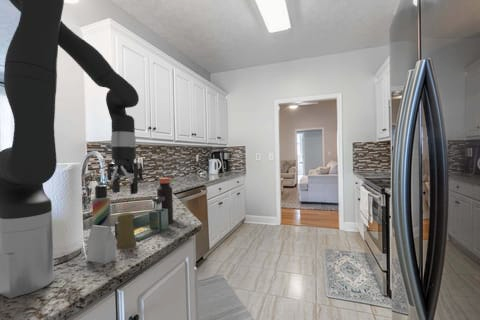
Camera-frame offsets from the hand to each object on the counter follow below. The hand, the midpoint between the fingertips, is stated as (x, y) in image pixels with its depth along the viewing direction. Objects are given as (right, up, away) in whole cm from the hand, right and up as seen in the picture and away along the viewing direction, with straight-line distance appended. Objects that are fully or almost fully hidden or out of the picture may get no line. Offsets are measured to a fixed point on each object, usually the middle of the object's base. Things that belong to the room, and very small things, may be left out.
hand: (125, 193), depth 79 cm
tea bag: (-1, -18, -11) cm, 21 cm away
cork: (0, -18, 0) cm, 18 cm away
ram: (+6, -12, +16) cm, 21 cm away
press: (+1, -18, +13) cm, 22 cm away
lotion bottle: (-12, -18, +7) cm, 23 cm away
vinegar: (+4, -17, +29) cm, 34 cm away
